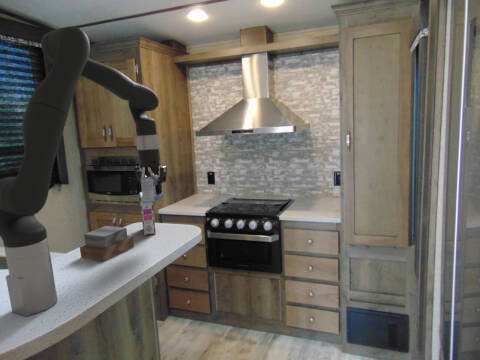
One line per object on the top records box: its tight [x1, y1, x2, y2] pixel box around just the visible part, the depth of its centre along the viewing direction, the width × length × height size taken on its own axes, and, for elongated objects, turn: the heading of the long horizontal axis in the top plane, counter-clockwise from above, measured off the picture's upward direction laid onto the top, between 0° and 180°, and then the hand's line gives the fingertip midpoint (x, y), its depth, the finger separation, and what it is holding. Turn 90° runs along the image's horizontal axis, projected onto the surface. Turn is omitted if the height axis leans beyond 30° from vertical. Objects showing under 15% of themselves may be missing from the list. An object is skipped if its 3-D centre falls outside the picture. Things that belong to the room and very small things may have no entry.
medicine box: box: [140, 175, 164, 202], centre depth 125 cm, size 8×4×9 cm, turn 168°
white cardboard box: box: [139, 191, 156, 237], centre depth 143 cm, size 11×5×16 cm, turn 17°
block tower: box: [79, 225, 135, 262], centre depth 122 cm, size 14×11×8 cm
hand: (152, 194), depth 126 cm, fingers closed on medicine box, 5 cm apart
